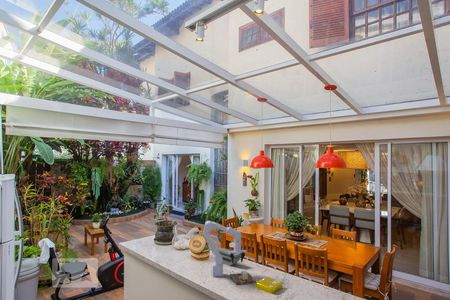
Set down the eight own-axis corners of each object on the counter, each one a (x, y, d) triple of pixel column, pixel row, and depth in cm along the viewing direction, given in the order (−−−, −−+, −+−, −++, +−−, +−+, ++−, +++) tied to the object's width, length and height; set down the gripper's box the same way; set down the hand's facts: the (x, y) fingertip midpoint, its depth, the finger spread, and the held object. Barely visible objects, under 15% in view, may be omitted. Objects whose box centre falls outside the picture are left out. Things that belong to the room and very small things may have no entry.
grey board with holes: (236, 284, 201) (236, 282, 202) (229, 276, 218) (229, 273, 218) (256, 282, 206) (256, 280, 206) (248, 274, 222) (248, 272, 222)
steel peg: (242, 282, 205) (242, 273, 206) (241, 280, 209) (241, 271, 210) (247, 282, 206) (247, 273, 207) (245, 280, 210) (246, 271, 211)
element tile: (265, 282, 208) (265, 275, 209) (283, 287, 199) (283, 281, 199) (255, 288, 197) (255, 281, 197) (273, 295, 187) (273, 288, 188)
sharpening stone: (215, 261, 252) (215, 249, 253) (220, 259, 258) (221, 247, 258) (235, 268, 235) (235, 255, 236) (241, 265, 241) (241, 253, 242)
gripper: (230, 247, 217) (230, 265, 216) (247, 246, 221) (247, 263, 220) (228, 245, 224) (227, 262, 223) (244, 244, 228) (244, 260, 227)
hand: (237, 262), depth 222 cm, fingers open, 7 cm apart
